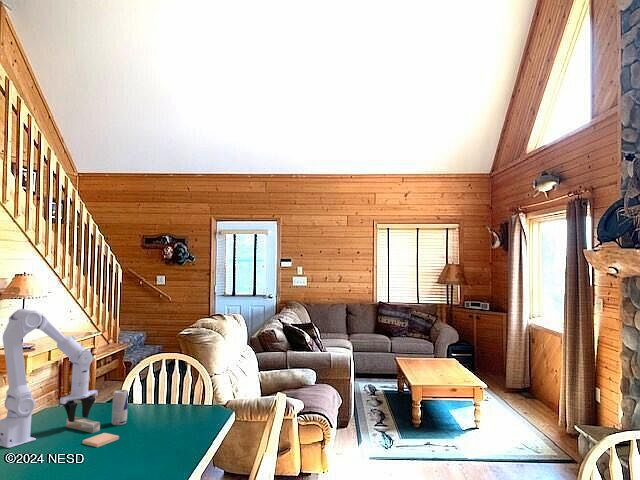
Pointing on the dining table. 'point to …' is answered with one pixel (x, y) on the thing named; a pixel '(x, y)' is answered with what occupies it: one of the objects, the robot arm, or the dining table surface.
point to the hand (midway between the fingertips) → (78, 419)
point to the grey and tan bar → (84, 425)
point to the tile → (100, 439)
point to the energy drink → (119, 407)
